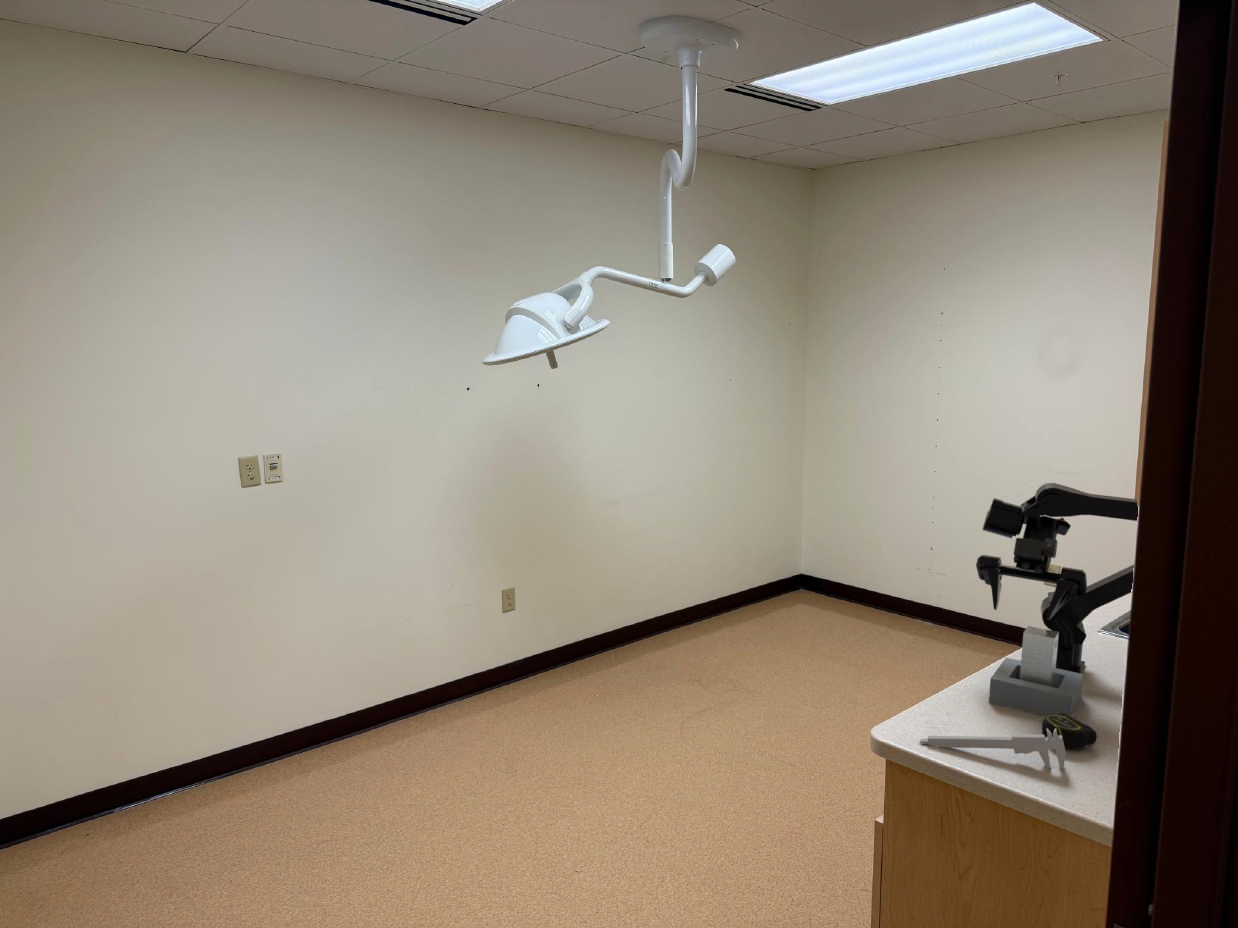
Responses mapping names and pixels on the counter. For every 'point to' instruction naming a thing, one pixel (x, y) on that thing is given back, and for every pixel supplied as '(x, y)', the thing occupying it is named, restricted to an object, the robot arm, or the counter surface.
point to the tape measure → (1070, 731)
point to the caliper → (1007, 744)
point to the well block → (1035, 691)
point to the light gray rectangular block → (1039, 656)
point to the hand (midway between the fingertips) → (1021, 613)
